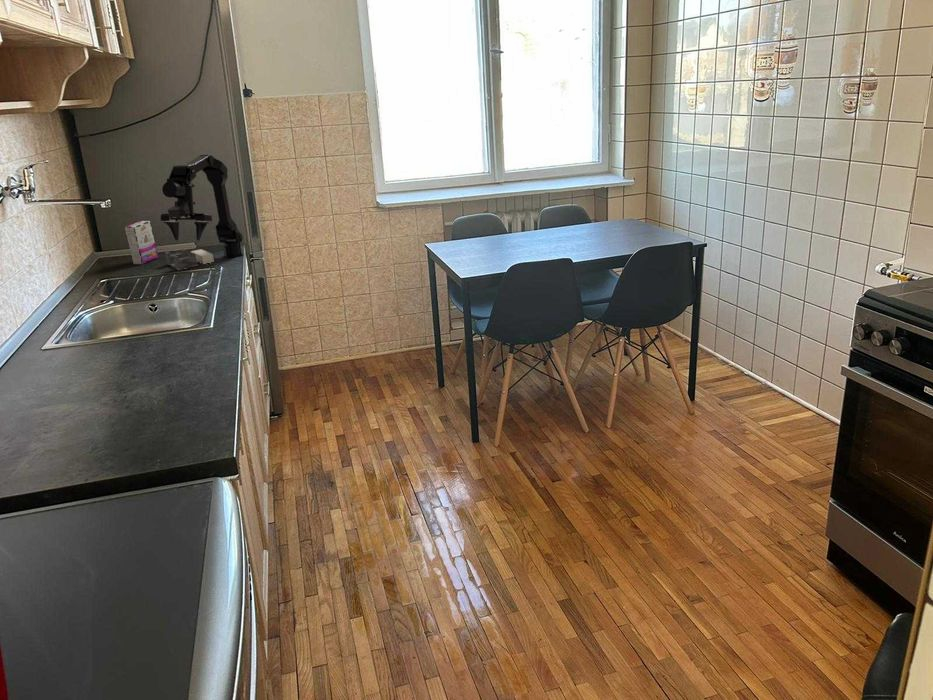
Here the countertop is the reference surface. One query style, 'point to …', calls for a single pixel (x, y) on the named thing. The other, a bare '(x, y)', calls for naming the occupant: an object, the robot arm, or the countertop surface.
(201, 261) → the clay block
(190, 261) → the dark grey angular piece
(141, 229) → the candy bar box
